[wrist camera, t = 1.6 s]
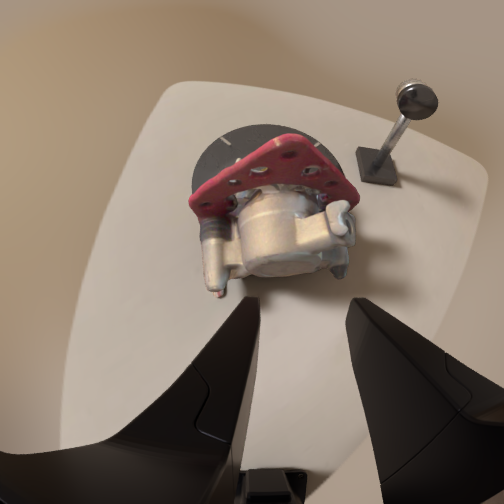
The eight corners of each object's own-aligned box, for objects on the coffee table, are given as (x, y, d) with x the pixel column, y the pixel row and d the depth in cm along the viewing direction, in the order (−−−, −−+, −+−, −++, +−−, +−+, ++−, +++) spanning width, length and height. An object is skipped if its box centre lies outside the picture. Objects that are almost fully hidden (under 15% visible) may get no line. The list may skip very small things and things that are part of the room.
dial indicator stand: (393, 185, 25) (451, 106, 14) (361, 181, 25) (413, 92, 14) (385, 157, 26) (433, 77, 15) (355, 152, 26) (396, 64, 15)
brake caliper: (330, 146, 23) (406, 140, 11) (327, 265, 26) (384, 336, 15) (198, 148, 22) (161, 137, 11) (206, 271, 26) (187, 354, 14)
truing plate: (354, 257, 22) (355, 257, 22) (182, 251, 22) (181, 250, 22) (336, 131, 27) (336, 130, 27) (202, 123, 27) (202, 122, 27)
